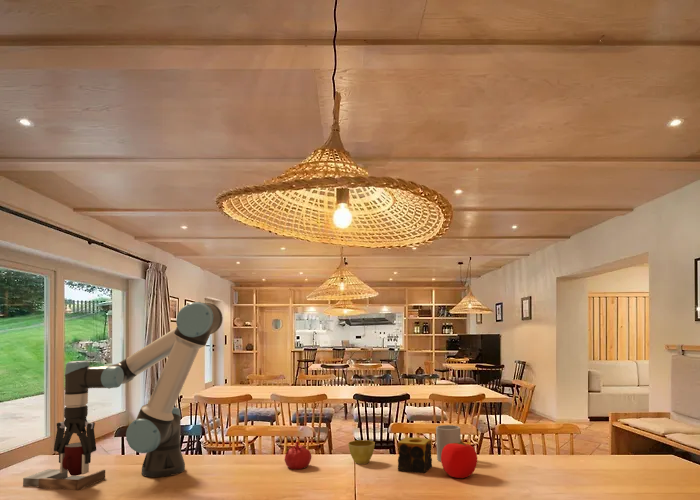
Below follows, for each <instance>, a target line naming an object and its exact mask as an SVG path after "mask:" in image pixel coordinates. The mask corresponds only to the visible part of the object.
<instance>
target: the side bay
mask: <svg viewBox="0 0 700 500" xmlns="http://www.w3.org/2000/svg"><path fill="white" fill-rule="evenodd" d="M68 474H69V471H68V470H67V472H64V473H60V468H59V469H58V468H57V469H56V468H54V469H53V468H47V469H44V470H42V471H39V472H36V473H34V474H30V475H29V476H25V477H23V479H22V486H24V487H38V489H51V490H68V491H81V490H83V489H84V488H86V487H90V486H91V485H93V484H96V483H98V482H100V481H103V480H105V479H106V469H100V470H99V471H96V472H94V473H92V474H88V475H76V476H72V475H68Z"/></svg>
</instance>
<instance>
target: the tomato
mask: <svg viewBox="0 0 700 500" xmlns="http://www.w3.org/2000/svg"><path fill="white" fill-rule="evenodd" d="M477 463H478V454H477V451H476V449H475V448H474V447H473V446H472V445H471V444H470V443H466V442H463V441H462V440H461V441H460V443H450V444H447V445H446V446H444V448H443V450H442V453H441V466H442V468H443V470H444V472H445V473H446V474H447V475H448V476H449V477H452V478H456V479H464V478H467V477H470V476H471V475H472V474H473V473H474V472H475V470H476V468H477V465H478V464H477Z"/></svg>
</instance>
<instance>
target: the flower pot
mask: <svg viewBox="0 0 700 500" xmlns="http://www.w3.org/2000/svg"><path fill="white" fill-rule="evenodd" d="M375 443H376V442H375V441H373V440H366V439H363V440H362V439H360V440H352V441H350V442H349V441H348V443H347V445H348V449H349V453H350V456H351V458H352V460H353V462H354V463H355V464H358V465H365V464H368V463H369V462H370V460H371V459H372V457H373V453H374V450H375V446H376V444H375Z"/></svg>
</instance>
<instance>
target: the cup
mask: <svg viewBox="0 0 700 500" xmlns="http://www.w3.org/2000/svg"><path fill="white" fill-rule="evenodd" d="M435 438H436V440H435V441H436V458H437V459H436V460H437V461H438V462H441V453H442V450H443V448H444V446H446V445H447V444H450V443H460V441H462V440H461V439H462V438H461V427H460V426H458V425H453V424H444V425H443V424H442V425H437V426H436V427H435ZM441 463H442V462H441Z"/></svg>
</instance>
